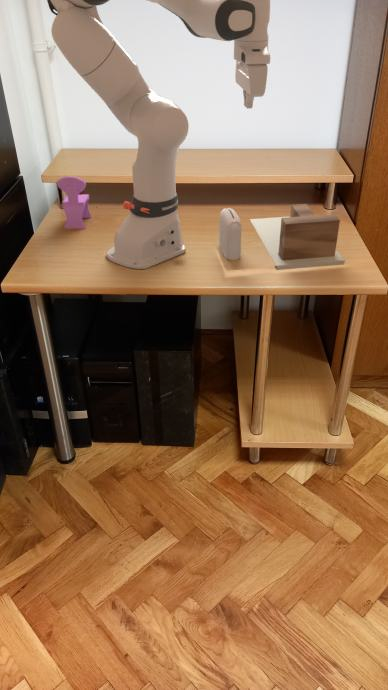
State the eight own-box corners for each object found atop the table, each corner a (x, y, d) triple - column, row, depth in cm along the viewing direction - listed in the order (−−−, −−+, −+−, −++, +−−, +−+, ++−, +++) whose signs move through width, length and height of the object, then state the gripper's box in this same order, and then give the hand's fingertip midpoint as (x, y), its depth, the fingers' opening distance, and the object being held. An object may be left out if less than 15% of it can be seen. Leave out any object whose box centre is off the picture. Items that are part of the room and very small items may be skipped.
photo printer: (217, 247, 158) (218, 204, 151) (232, 246, 159) (234, 203, 152) (226, 264, 150) (227, 220, 143) (242, 263, 150) (244, 218, 143)
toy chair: (95, 217, 176) (89, 168, 168) (88, 228, 169) (82, 178, 160) (68, 216, 177) (61, 167, 168) (61, 228, 170) (53, 178, 161)
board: (249, 223, 171) (249, 219, 171) (308, 218, 173) (308, 215, 173) (276, 270, 147) (276, 265, 146) (343, 264, 149) (344, 260, 149)
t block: (270, 240, 158) (273, 206, 153) (319, 237, 160) (323, 202, 154) (282, 260, 149) (285, 224, 143) (334, 256, 150) (339, 220, 145)
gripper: (230, 46, 159) (229, 99, 167) (247, 58, 143) (245, 116, 151) (253, 45, 160) (250, 98, 168) (272, 57, 143) (268, 115, 151)
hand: (248, 107), depth 159 cm, fingers closed
